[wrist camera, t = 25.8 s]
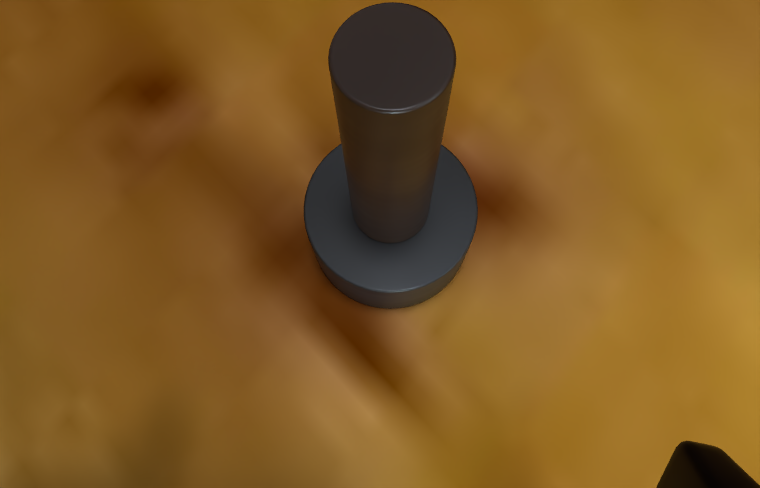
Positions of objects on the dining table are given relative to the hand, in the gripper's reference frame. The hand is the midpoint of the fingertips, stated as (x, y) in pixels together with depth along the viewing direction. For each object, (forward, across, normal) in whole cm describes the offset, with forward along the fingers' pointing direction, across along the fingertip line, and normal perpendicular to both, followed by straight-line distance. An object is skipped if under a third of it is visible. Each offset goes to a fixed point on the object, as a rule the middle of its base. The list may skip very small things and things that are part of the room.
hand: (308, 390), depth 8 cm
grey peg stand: (+12, 0, +4) cm, 13 cm away
